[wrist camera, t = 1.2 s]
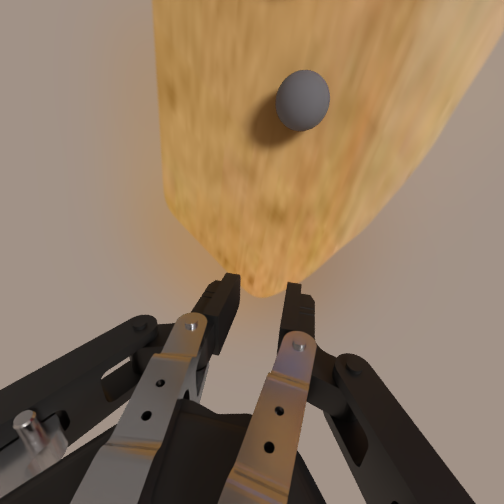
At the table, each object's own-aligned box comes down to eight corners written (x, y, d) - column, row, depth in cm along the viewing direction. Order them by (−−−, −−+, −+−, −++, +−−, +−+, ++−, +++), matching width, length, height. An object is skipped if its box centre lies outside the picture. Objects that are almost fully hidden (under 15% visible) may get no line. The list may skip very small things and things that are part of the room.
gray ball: (275, 81, 30) (268, 73, 25) (326, 68, 28) (329, 57, 23) (282, 134, 32) (276, 136, 27) (330, 125, 30) (332, 126, 26)
